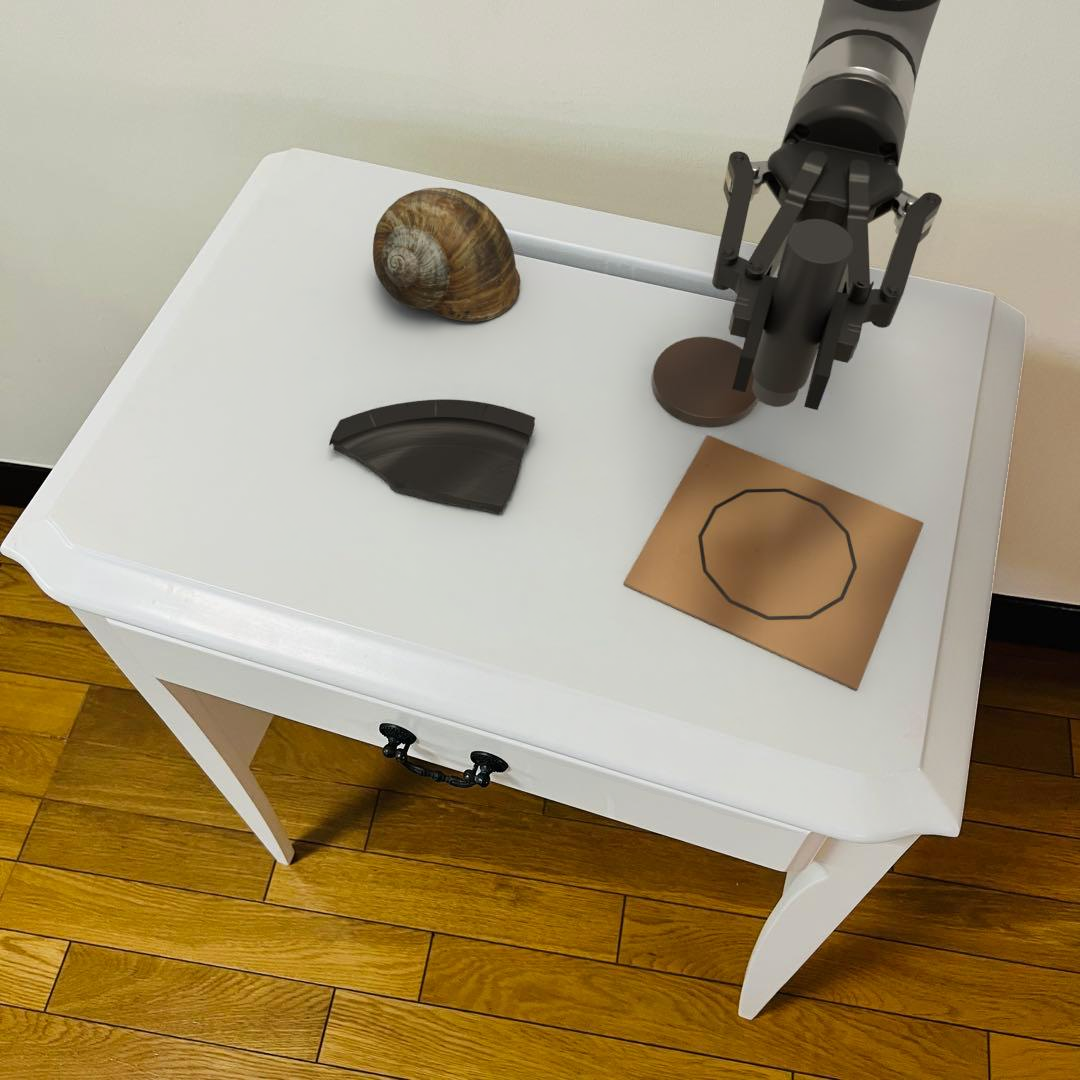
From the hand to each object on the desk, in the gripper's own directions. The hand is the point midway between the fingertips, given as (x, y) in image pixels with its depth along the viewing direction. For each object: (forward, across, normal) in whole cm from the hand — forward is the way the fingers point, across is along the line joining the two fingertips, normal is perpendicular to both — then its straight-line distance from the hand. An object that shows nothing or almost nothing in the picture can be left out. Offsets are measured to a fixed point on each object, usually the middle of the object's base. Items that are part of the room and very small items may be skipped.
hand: (779, 382), depth 57 cm
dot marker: (-5, 0, -7) cm, 9 cm away
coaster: (-13, +5, -16) cm, 21 cm away
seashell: (-16, +26, -16) cm, 35 cm away
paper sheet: (0, -3, -16) cm, 16 cm away
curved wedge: (-1, +21, -16) cm, 27 cm away
